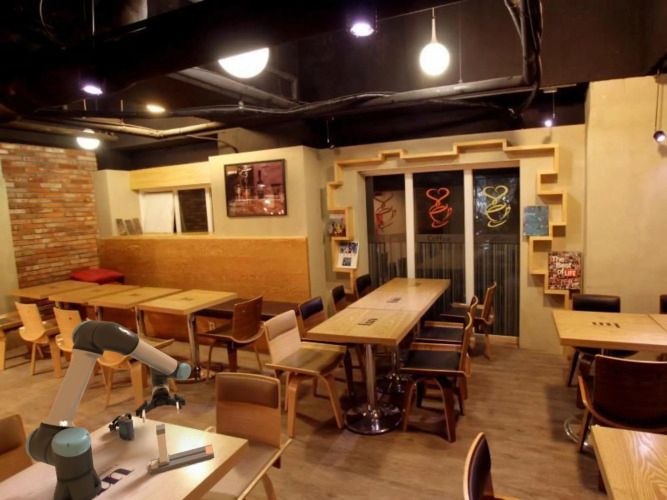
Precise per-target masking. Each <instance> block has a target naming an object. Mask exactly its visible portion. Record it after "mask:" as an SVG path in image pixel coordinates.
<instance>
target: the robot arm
mask: <svg viewBox="0 0 667 500" xmlns="http://www.w3.org/2000/svg"><path fill="white" fill-rule="evenodd" d="M71 340H72V343H73V346H72V348H71V352H72V353H73V357H72V359H71V361H70V363H69V366H68V368H67V371H66V373H65V375H64V378H63V380H62V383H61V385H60V387H59V389H58V393H57V394H56V397H55V400H54V402H53V404H52V406H51V409H50V411H49V414H48V416H47V417H46V418H45V419H43V420H41V422H40V424H39V426H38V427H37V428H35V429H34V430H32V431H31V433H29V435H28V436H27V438H26V441H25V444H24V446H25V453H26V454H27V456H28V457H29V458H31V459H33V461H35V462H38V463H43V464H45V465H49V466H52V467H54V469H55V476H56V483H55V488H54V493H53V496H52V497H53V498H52V499H53V500H92V499H94V498H95V497H96V496H97V495H99V493H100V492H101V490H102V488H103V487H102V478H101V477H100V476H99V473H98V472H97V471H96V468H95V466H94V457H93V449H92V439H91V436H90V432H89V431H88V429H86V428H84V427H80V426H79V427H78V426H76V425H75V423H74V419H75V416H76V414H77V411H78V409H79V406H80V404H81V400H82V397H83V396H84V393H85V391H86V388H87V385H88V383H89V380H90V378H91V375H92V372H93V370H94V368H95V365H96V363H97V360H98V359H100V358H103V355H104V353H105V351H106V352H110V353H117V354H119V355H122V356H124V357H126V356H129V357H131V358H134V359H135V360H137V361H138V362H139V361H140V362H142V363H143V364H145V365H147V366H148V367H149V372H150V378H151V379H150V380H151V387H152V388H151V390H152V393H151V399H150V401H148V400H147V399H145V400H144V401H143V403H142V404H141V405H139V407H137V408H136V409H135V417H139V419H142V423H143V424H145V423H146V414H147V413H149V412H151V411H152V410H155V409H156V408H159V407H163V406H168V407H169V406H173V407H176V411H177V415H180V410H182V408H183V406H186V405H187V404H186V399H185V398H183V397H181V396H179V395H177V393H174V394H173V396H171V394H170V382H169V379H174V380H178V381H185V380H187V379H188V378H189V377H190V375H191V371H192V367H191V366H190V364H188V363H185V362H180V361H178V360H177V359H175V358H173V357H171V356H170V355H168V354H166V353H164V352H163V351H161V350H159V349H157V348H155V347H154V346H153V345H150V344H148V343H147V342H146V341H143V340H142V339H140V336H139V335H138V334H137V333H135V332H133V331H132V330H130V329H128V328H127V327H125V326H123V325H121V324H119V323H116V322H114V321H106V320H105V321H104V320H98V319H97V320H96V319H92V320H85V321H81V322H80V323H79V324H78V325H76V326H75V328H74V329H73V331H72V333H71Z"/></svg>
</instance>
